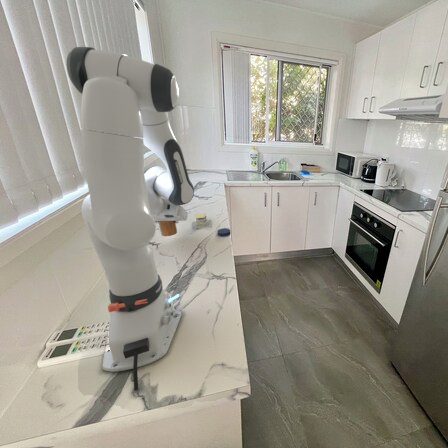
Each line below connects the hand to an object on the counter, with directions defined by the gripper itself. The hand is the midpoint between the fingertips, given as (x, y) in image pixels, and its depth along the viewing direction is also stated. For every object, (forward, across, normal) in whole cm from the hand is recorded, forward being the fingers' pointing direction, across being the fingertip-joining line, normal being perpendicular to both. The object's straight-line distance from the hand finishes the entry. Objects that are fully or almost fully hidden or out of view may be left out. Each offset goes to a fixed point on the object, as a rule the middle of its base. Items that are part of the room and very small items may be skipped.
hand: (167, 221), depth 108 cm
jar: (+3, 0, -4) cm, 5 cm away
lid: (+18, +21, +1) cm, 28 cm away
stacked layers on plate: (+28, +7, +9) cm, 30 cm away
